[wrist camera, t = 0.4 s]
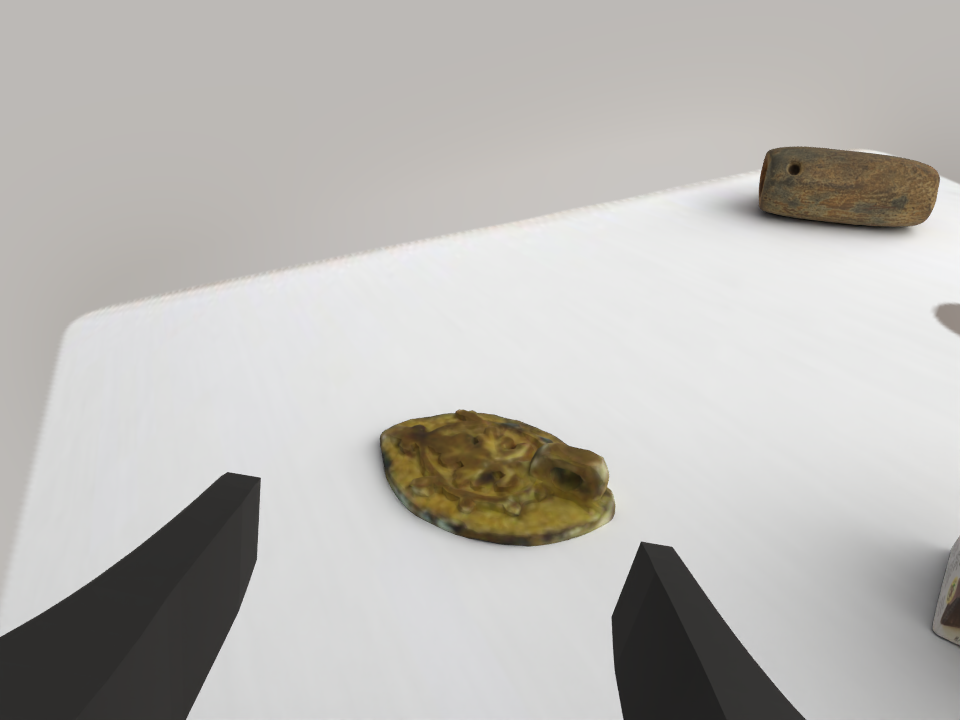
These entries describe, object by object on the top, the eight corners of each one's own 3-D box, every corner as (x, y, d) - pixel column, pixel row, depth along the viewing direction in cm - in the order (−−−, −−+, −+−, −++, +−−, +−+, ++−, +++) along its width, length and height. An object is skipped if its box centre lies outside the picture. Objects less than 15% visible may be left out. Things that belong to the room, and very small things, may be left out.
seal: (346, 513, 42) (594, 589, 37) (329, 462, 39) (598, 538, 34) (412, 403, 48) (632, 457, 43) (402, 352, 45) (639, 404, 40)
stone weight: (757, 230, 67) (774, 162, 63) (749, 199, 72) (763, 134, 68) (929, 241, 64) (958, 171, 60) (907, 209, 70) (932, 142, 66)
